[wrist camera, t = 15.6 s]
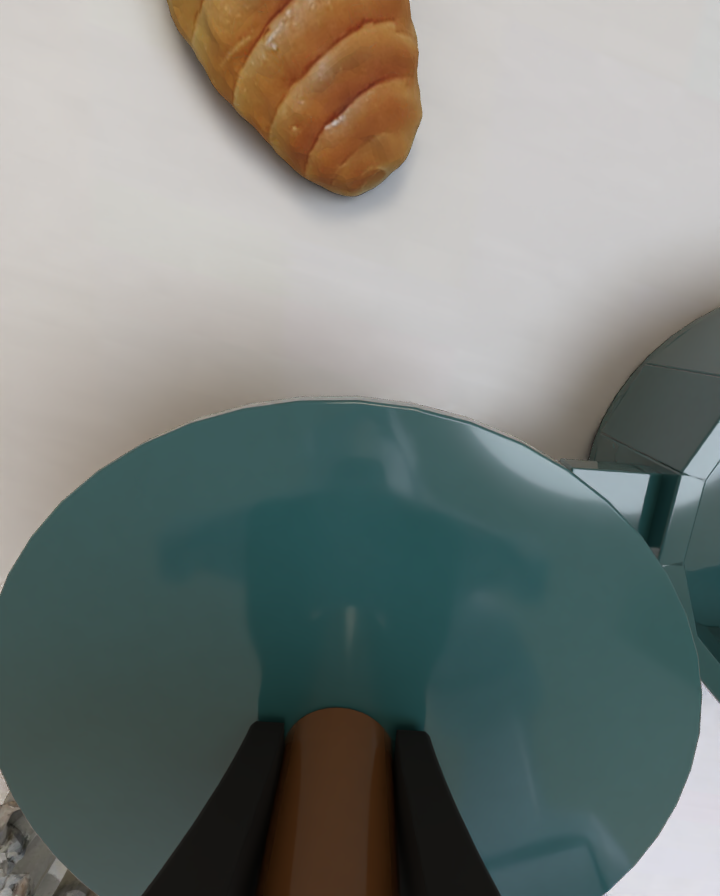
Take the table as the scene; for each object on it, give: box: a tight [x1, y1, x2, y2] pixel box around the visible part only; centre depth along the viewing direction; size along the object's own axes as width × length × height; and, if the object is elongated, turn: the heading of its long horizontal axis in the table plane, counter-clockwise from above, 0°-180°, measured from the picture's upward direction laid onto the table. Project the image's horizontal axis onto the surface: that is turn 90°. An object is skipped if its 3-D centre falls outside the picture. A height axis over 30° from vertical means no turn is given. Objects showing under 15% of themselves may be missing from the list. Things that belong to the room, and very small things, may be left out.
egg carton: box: [0, 792, 98, 896], centre depth 23 cm, size 11×8×4 cm
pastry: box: [167, 0, 422, 196], centre depth 14 cm, size 9×7×4 cm
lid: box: [0, 396, 702, 896], centre depth 9 cm, size 16×16×5 cm
